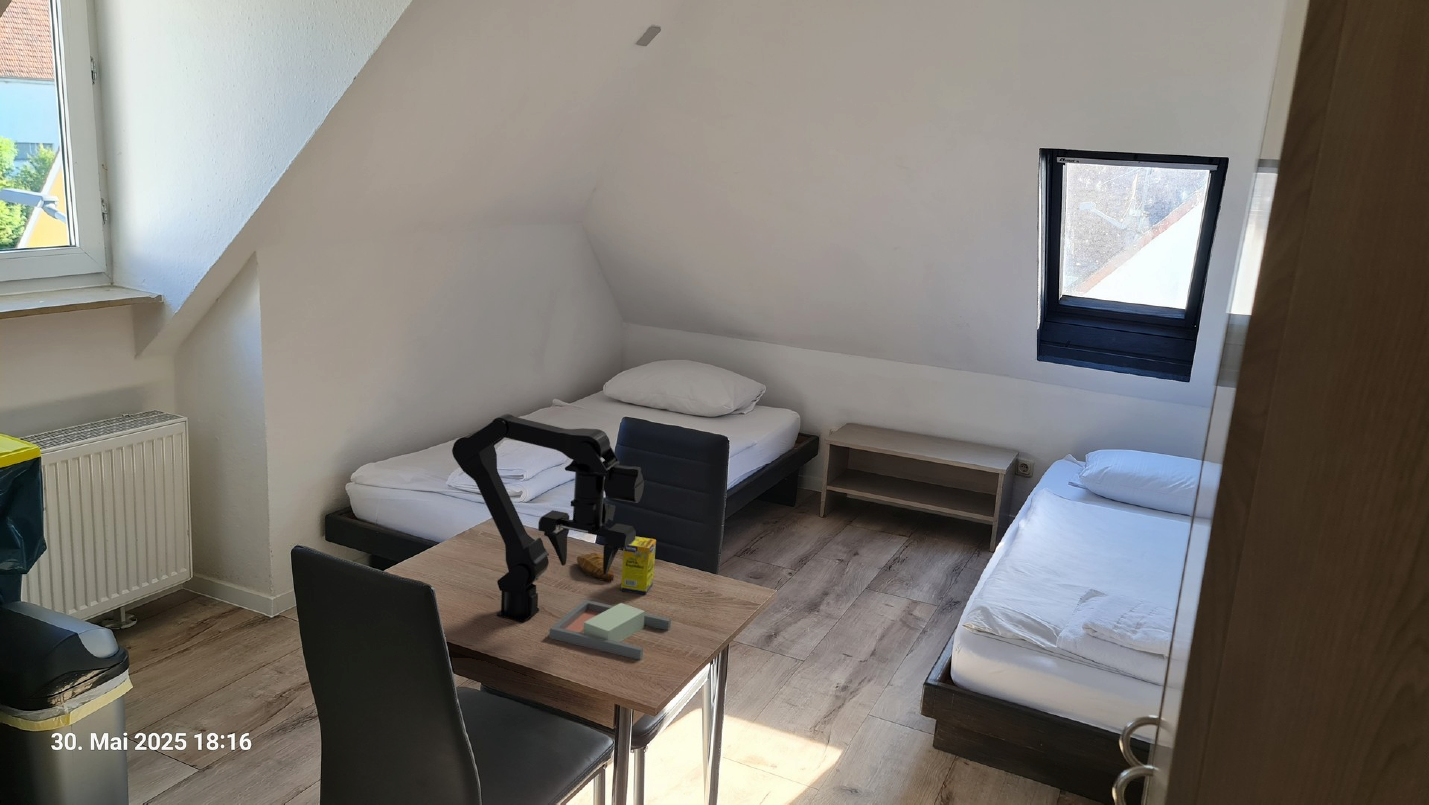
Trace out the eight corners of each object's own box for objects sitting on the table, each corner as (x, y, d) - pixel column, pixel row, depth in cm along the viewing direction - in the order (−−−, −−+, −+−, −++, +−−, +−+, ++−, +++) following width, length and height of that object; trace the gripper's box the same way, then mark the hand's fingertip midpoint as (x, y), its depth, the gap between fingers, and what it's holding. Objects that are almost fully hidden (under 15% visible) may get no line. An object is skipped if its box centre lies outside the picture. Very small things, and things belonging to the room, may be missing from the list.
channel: (549, 638, 192) (549, 628, 192) (584, 608, 206) (585, 599, 206) (640, 660, 186) (640, 650, 186) (670, 628, 200) (670, 619, 200)
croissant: (565, 566, 228) (566, 545, 227) (590, 560, 233) (591, 540, 232) (598, 586, 218) (599, 565, 217) (623, 580, 223) (624, 559, 222)
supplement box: (646, 595, 216) (649, 548, 213) (620, 591, 217) (623, 544, 214) (653, 585, 221) (656, 539, 219) (627, 581, 222) (630, 535, 220)
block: (582, 641, 193) (583, 622, 192) (619, 621, 203) (620, 602, 202) (607, 650, 190) (608, 631, 189) (643, 629, 200) (644, 611, 199)
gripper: (649, 492, 197) (643, 565, 201) (565, 476, 203) (561, 547, 206) (626, 507, 187) (621, 584, 190) (538, 490, 193) (535, 565, 196)
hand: (584, 569), depth 196 cm, fingers open, 9 cm apart
